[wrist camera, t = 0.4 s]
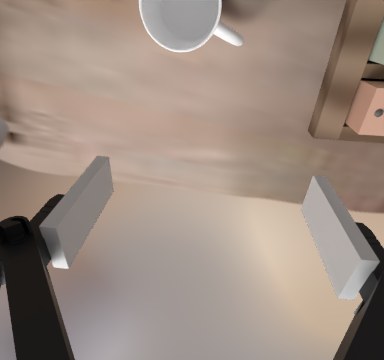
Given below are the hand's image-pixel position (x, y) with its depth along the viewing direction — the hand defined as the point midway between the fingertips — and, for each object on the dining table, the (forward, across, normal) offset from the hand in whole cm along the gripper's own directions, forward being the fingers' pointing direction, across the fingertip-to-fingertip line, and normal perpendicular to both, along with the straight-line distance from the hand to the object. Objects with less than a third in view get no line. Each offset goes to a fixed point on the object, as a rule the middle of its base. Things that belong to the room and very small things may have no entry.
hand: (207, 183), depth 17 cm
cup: (+27, -2, +9) cm, 29 cm away
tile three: (+24, +23, 0) cm, 33 cm away
